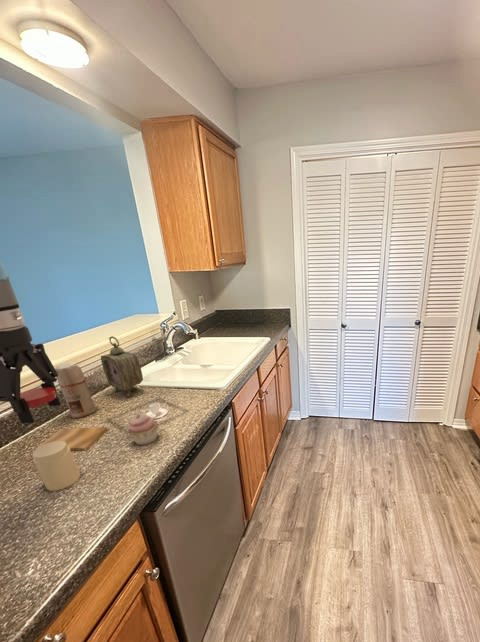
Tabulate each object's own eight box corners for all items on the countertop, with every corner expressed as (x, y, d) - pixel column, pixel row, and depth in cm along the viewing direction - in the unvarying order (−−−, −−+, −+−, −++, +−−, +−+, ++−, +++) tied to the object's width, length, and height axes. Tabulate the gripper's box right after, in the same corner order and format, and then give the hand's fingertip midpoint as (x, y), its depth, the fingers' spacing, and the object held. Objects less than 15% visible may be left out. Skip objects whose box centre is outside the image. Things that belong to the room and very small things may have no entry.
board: (36, 452, 101) (34, 449, 101) (62, 431, 112) (61, 428, 112) (85, 450, 100) (84, 447, 100) (107, 430, 111) (106, 427, 111)
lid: (34, 393, 87) (31, 387, 86) (64, 393, 87) (62, 386, 86) (6, 408, 79) (3, 401, 79) (39, 408, 79) (36, 401, 78)
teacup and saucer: (150, 423, 114) (147, 413, 113) (138, 417, 119) (136, 407, 117) (172, 413, 121) (170, 403, 119) (160, 407, 125) (158, 398, 124)
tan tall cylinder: (65, 417, 122) (46, 367, 114) (84, 407, 129) (67, 360, 121) (82, 420, 119) (64, 369, 111) (101, 409, 126) (85, 361, 118)
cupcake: (125, 441, 104) (117, 414, 100) (153, 429, 110) (146, 403, 106) (138, 452, 98) (129, 424, 94) (167, 438, 105) (160, 411, 101)
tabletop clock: (110, 392, 141) (93, 337, 131) (130, 385, 148) (115, 331, 138) (127, 400, 133) (111, 341, 123) (148, 391, 140) (133, 335, 130)
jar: (38, 491, 84) (22, 458, 80) (59, 472, 91) (46, 440, 87) (67, 491, 84) (53, 457, 80) (86, 471, 91) (74, 439, 87)
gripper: (-21, 340, 65) (22, 435, 75) (55, 317, 85) (82, 395, 94) (-56, 341, 66) (-9, 436, 75) (28, 318, 85) (57, 395, 94)
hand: (42, 413), depth 84 cm, fingers closed on lid, 8 cm apart
